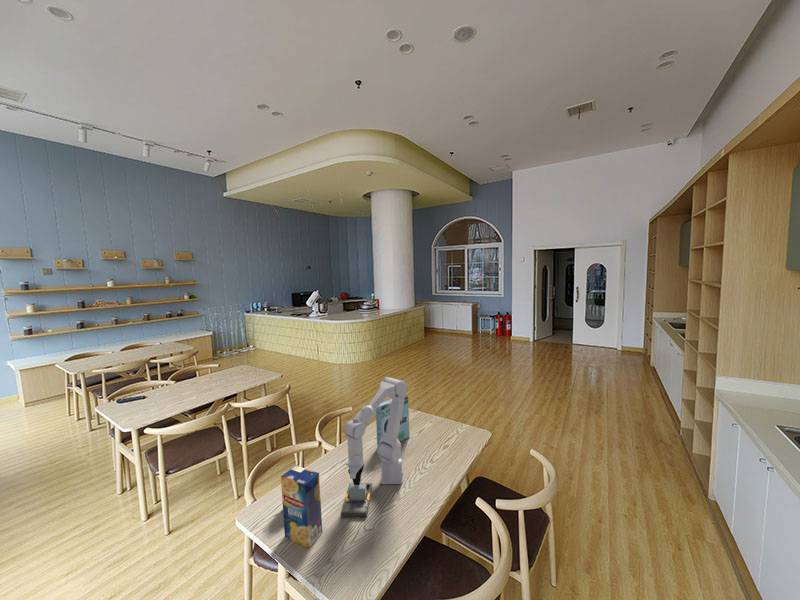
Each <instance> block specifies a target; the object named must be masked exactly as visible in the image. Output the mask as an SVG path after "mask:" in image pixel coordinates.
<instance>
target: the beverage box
mask: <svg viewBox="0 0 800 600" xmlns="http://www.w3.org/2000/svg"><path fill="white" fill-rule="evenodd" d="M280 482H281V483H280V484H281V497H282V498H281V499H282V501H281V502H282V514H283V530H284V537H285V538H287V539H289V540H291V541H293V542H295V543H298V544H300V545H301V546H303V547H304V548H308V549H309V548H310V547H311V546H312V545H313V544H314V543H315V541H316V540H317V539H318V538H319V537H320V536H321V534H323V522H322V520H323V519H322V507H321V506H322V504H321V503H322V501H321V485H320V484H321V483H320V472H317V471H314V470H311V469H308V468H305V467H301V466H298V465H294V466H293V467H292V468H290V469H289V470H287V472H285V473H284V474H282V475H281V476H280Z"/></svg>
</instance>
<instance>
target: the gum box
mask: <svg viewBox="0 0 800 600" xmlns="http://www.w3.org/2000/svg"><path fill="white" fill-rule="evenodd" d="M391 404H392V398H390V399H388V400H384V401H383V402H382V403H381V404H380V405H379V406H378V407H377V408H376V410H375V419H376V423H375V425H376V426H375V427H376V446H377V447H378V445H379V442H380V439H381V438H382V437H384V436H385V434H386V429H387V424H388V419H389V414H390V409H391ZM408 437H409V438H410V413H409V396H407V395H405V400H404V405H403V410H402V415H401V421H400V426H399V431H398V436H397V438H398V440H399V441H401V442H402V440H403V441H405V440H406V438H407V439H409V438H408ZM404 439H405V440H404ZM377 447H376V448H377Z"/></svg>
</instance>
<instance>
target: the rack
mask: <svg viewBox="0 0 800 600" xmlns="http://www.w3.org/2000/svg"><path fill="white" fill-rule="evenodd" d="M350 484H354V483H353V482H349V484H348V487H347V491H346V493H345V496H344V499H343V500H344V501H343V504H342V507H341V511H340V518H367V517H368V514H369V513H368V512H369V509H370V508H369V507H370V503H371V496H372V492H373V482H360V484H366V487H367V500H366V501H350V499H349V487H350Z"/></svg>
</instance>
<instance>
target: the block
mask: <svg viewBox="0 0 800 600" xmlns="http://www.w3.org/2000/svg"><path fill="white" fill-rule="evenodd" d="M349 484H350V483H349ZM348 487H349V486H348ZM349 499H350V501H366V500H367V487H366V484H360V485H355V486H354V484H350V487H349Z"/></svg>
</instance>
